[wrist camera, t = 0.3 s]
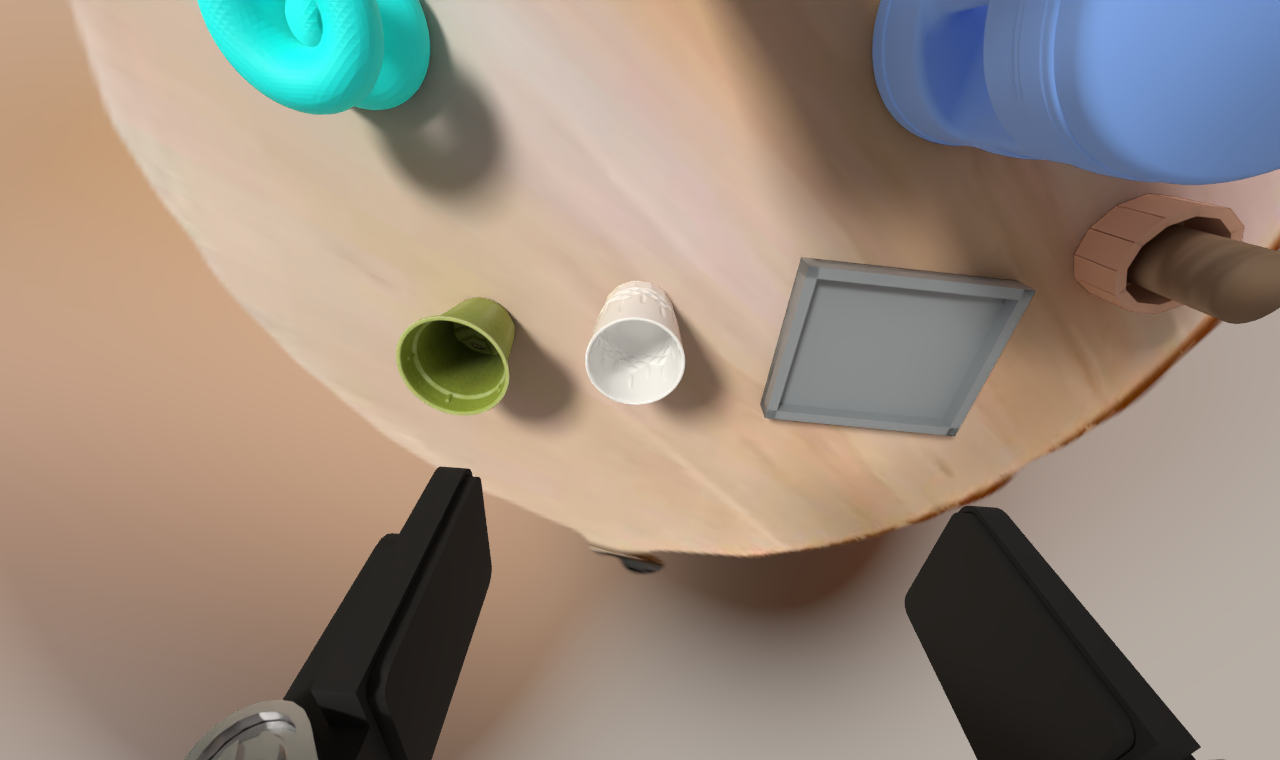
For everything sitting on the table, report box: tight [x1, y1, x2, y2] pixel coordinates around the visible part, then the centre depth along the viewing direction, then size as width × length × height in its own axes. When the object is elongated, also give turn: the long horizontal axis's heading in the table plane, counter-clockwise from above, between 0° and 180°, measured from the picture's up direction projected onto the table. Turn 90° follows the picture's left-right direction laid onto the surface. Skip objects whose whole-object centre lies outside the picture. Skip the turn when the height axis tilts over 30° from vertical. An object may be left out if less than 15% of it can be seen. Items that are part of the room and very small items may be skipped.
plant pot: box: [396, 298, 515, 415], centre depth 44 cm, size 9×9×9 cm
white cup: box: [585, 280, 685, 405], centre depth 42 cm, size 8×8×10 cm
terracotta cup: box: [1074, 194, 1244, 314], centre depth 40 cm, size 9×9×4 cm
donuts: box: [197, 0, 430, 115], centre depth 31 cm, size 10×10×10 cm
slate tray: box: [760, 257, 1036, 436], centre depth 47 cm, size 16×20×2 cm
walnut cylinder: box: [1126, 224, 1280, 324], centre depth 37 cm, size 5×5×10 cm
